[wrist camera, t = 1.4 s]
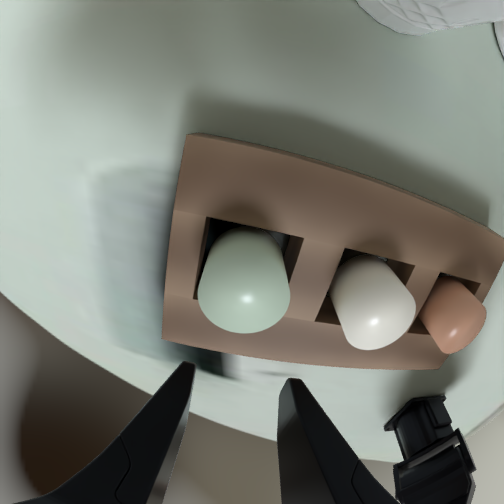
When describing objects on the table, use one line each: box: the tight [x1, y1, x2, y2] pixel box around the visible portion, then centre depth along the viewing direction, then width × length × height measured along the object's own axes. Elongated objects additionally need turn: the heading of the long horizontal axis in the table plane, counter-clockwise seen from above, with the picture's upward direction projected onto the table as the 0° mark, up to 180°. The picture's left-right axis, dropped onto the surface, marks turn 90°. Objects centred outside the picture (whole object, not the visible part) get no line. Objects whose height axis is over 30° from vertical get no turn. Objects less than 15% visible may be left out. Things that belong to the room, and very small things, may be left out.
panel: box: [162, 133, 504, 370], centre depth 17 cm, size 12×22×3 cm, turn 77°
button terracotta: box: [418, 276, 486, 354], centre depth 15 cm, size 4×4×4 cm
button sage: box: [198, 227, 290, 333], centre depth 14 cm, size 4×4×4 cm
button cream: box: [329, 255, 416, 350], centre depth 15 cm, size 4×4×4 cm
